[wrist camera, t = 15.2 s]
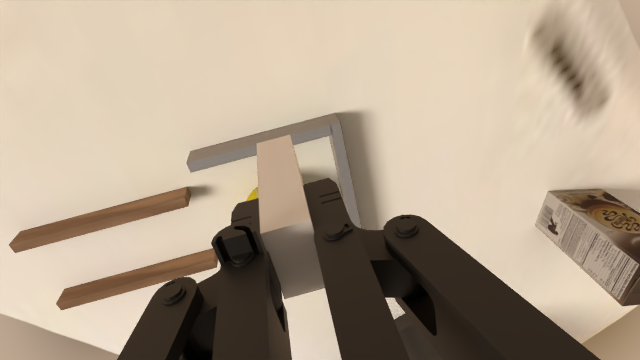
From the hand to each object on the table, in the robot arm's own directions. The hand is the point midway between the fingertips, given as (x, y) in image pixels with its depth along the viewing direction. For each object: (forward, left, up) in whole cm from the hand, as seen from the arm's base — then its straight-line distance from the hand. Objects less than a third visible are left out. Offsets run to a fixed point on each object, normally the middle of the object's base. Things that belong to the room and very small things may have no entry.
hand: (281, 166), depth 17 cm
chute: (-18, +23, -26) cm, 39 cm away
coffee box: (-32, -37, -27) cm, 56 cm away
